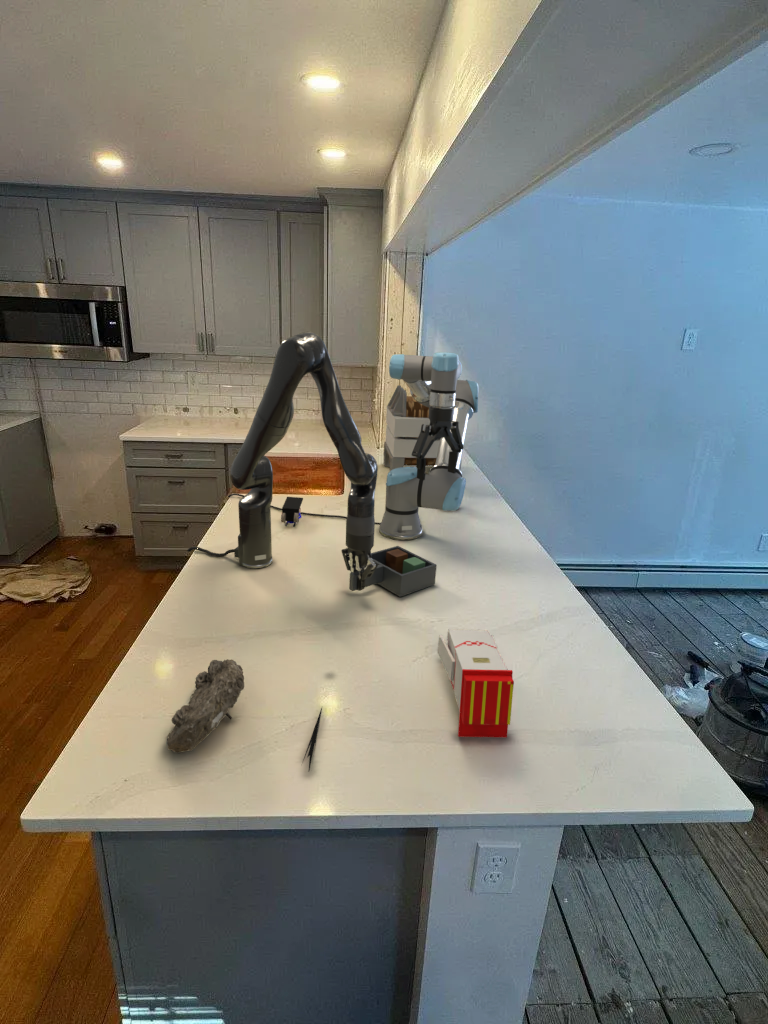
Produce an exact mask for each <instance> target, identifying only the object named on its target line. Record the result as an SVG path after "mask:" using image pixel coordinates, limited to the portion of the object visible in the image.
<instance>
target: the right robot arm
mask: <svg viewBox="0 0 768 1024" xmlns="http://www.w3.org/2000/svg"><path fill="white" fill-rule="evenodd" d="M462 371H463V365H462V362H461V361H460V360H459V355H458V353H455V352H445V351H438V352H434V353H433V355H432V356H431V355H430V356H429V355H413V354H404V353H402V354H398V353H397V354H392V356H391V357H390V359H389V364H388V373H389V377H390V378H391V379H392V380H393V379H394V380H402V381H403V382H404V383H405V385H406V386H407V388H408V389H409V392H410V396H412V397H413V398H414V399H415V400H416V401H417V402H419V403H420V404H422V405H424V406H426V407H429V416H428V418H429V419H430V424H429V425H425V424H422V426H421V432H420V434H419V437H418V439H417V442H416V444H415V447H414V449H413V452H412V456H414V457H416V458H417V464H416V466H404V467H401V468H396V469H393V470H391V471H390V470H389V472H388V473H387V475H386V482H385V504H384V505H385V507H384V508H385V509H384V513H383V515H382V519H381V522H376V521H375V525H377V526H378V533H379V534H380V535H381V536H382V537H385V538H387V539H389V540H395V541H410V540H415V539H418V538H420V537H421V536H422V535H423V525H422V524H421V518H420V515H419V508H422V509H430V510H431V509H432V510H440V511H444V512H456V511H457V510H459V509H460V507H461V505H462V502H463V499H464V496H465V490H466V486H467V480H466V478H465V477H463V472H462V470H461V471H460V470H459V469H460V463H461V464H462V462H461V458H462V457H463V449H464V447H465V440H466V434H467V427H468V422H469V420H470V419H472V418H473V416H474V414H477V413H478V412H479V384H478V382H476V381H475V380H469V379H460V377H461V375H462V373H463V372H462ZM431 435H432V436H431ZM437 439H440V443H439V448H438V453H437V458H436V464H435V466H431V468H430V469H429V472H428V473H426V468H427V466H426V459H425V458H424V457H425V456H426V454H427V452H428V451H429V449H430V447H431V446H432V444H433V443H434V441H436V440H437ZM416 452H417V453H416ZM232 496H238V497H241V498H243V497H244V496H245V495H244V494H240V493H231V494H229V495H228V496H227V498H231V497H232ZM271 508H272V509H275V510H278V511H282V507H278V506H274V505H271ZM447 510H448V511H447ZM300 515H303V516H304V515H305V516H313V517H324V518H337V519H345V520H346V519H347V516H346V515H345V516H344V515H338V514H337V515H335V514H321V513H310V512H302V511H301V514H300Z"/></svg>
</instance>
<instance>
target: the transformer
mask: <svg viewBox="0 0 768 1024" xmlns="http://www.w3.org/2000/svg"><path fill="white" fill-rule="evenodd" d="M407 394H408V393H407V390H406V389H404V388H403V387H402V385H399V384H398V385H397V386H396V388H395V390H394V392H393V394H392V395H391V398H390V400H389V402H388V404H387V405H386V413H385V414H386V415H385V423H386V428H385V438H384V442H383V466H384V467H388V468H389V472H390V471H391V470H393V469H396V468H401V467H405V466H406V467H416V464H417V458H416V457H414V456H412V452H413V449H414V447H415V444H416V442H417V439H418V437H419V434H420V432H421V426H422V424H425V425H429V424H430V419H429V418H428V416H429V407H426V406H424V405H422V404H420V403H419V402H417V401H416V400H415V399H414V398H413V397H412V395H407ZM431 436H432V435H431ZM439 443H440V439H437V440H436V441H434V443H433V444H432V446H431V447H430V449H429V451H428V452H427V454H426V456H425V457H424V458H425V459H426V467H433V466H435V464H436V458H437V453H438V448H439ZM416 453H417V452H416ZM462 461H463V460H462V457H461V463H460V469H459V470H460V471H461V472H462Z"/></svg>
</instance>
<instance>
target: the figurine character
mask: <svg viewBox="0 0 768 1024" xmlns="http://www.w3.org/2000/svg"><path fill="white" fill-rule="evenodd" d="M303 501H304V497H297V496H286V499H285V500H284V502H283V505H282V507H281V508H282V510H281V515H280V523H283V524H284V523H285V525H284V526H285V527H288V525H289V524H290V525H292V527H293V528H295V527H296V524H297V523H299V520H300V519H302V518H303V517H302V514H301V512H302V509H301V506H302V503H303Z"/></svg>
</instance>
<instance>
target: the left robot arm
mask: <svg viewBox="0 0 768 1024" xmlns="http://www.w3.org/2000/svg"><path fill="white" fill-rule="evenodd" d="M328 351H329V350H328V349H327V346H326V344H325V342H324V340H323V339H322V338H321V337H320V336H319V334H317V333H315V332H313V331H304V332H301V333H298V334H295V335H292V336H290V337H287V338H285V339H284V340H283V341H282V342H281V343H280V345H279V347H278V348H277V350H276V354H275V358H274V362H273V366H272V370H271V373H270V376H269V379H268V383H267V385H266V388H265V390H264V393H263V395H262V397H261V400H260V403H259V405H258V406H257V409H256V412H255V414H254V417H253V420H252V422H251V425H250V428H249V430H248V432H247V435H246V437H245V439H244V441H243V442H242V445H241V447H240V448H239V450H238V452H237V454H236V455H235V457H234V459H233V461H232V463H231V466H230V470H229V471H230V473H229V474H230V475H229V476H230V481H231V484H232V485H233V487H234V488H236V489H237V490H240V491H245V490H246V491H247V490H249V491H248V492H247V493H246V494H245V495H244V497H241V498H240V499H239V501H238V505H237V506H238V523H239V524H238V525H239V526H238V527H239V534H238V535H237V546H236V547H235V548H232V549H227V550H226V551H224V552H223V553H217V552H212V551H210V550H209V549H205V548H203V547H199V546H191V547H189V548H188V549H187V550H186V552H191V551H193V550H195V551H200V552H201V553H205V554H207V555H209V556H212V557H217V558H220V557H226V556H228V555H229V554H231V553H232V554H234V558H236V559H237V558H238V565H239V566H240V567H241V566H242V567H244V568H247V569H262V568H266V567H269V566H270V565H272V563H273V547H272V546H273V545H272V513H271V512H272V510H271V506H272V502H273V489H274V488H273V487H274V471H273V465H272V463H271V460H270V458H269V457H267V456H266V454H268V452H270V451H271V450H272V449H273V448H274V447H276V446H277V445H278V444H279V443H280V442H281V441H282V440H283V438H284V437H285V436H286V434H287V432H288V430H289V428H290V426H291V423H292V422H293V418H294V414H295V407H294V395H295V393H296V390H297V389H298V386H299V384H301V381H302V380H303V378H304V377H305V376H307V375H308V374H310V376H311V377H312V379H313V381H314V383H315V386H316V387H317V390H318V396H319V402H320V412H321V418H322V421H323V424H324V428H325V430H326V432H327V433H328V436H329V438H330V440H331V441H332V443H333V445H334V447H335V448H336V451H337V455H338V458H339V460H340V464H341V466H342V469H343V473H344V475H345V477H346V478H347V479H348V481H350V489H349V490H350V491H349V493H348V496H347V509H346V510H347V513H346V517H347V519H345V546H346V547H347V548H343V549H341V555H342V559H343V562H344V564H345V567H346V570H347V571H350V573H353V572H356V571H357V577H358V578H357V590H356V591H358V592H360V591H363V590H365V588H366V587H365V579H366V578H369V577H371V576H372V574H373V573H374V571H375V570H376V568H377V566H378V563H377V562H375V563H374V562H373V560H372V559H371V558H372V555H371V553H372V549H373V548H374V546H375V530H376V529H375V527H376V526H375V525H376V524H375V522H376V520H375V504H376V502H375V495H376V494H375V493H376V487H377V482H378V481H377V479H378V467H379V466H378V462H377V460H376V458H375V457H374V455H373V454H370V453H368V452H365V450H364V448H363V445H362V436H361V433H360V431H359V429H358V427H357V425H356V423H355V421H354V419H353V416H352V415H351V413H350V411H349V408H348V407H347V404H346V402H345V399H344V396H343V393H342V390H341V389H340V388H341V387H340V386H339V385H340V384H339V382H338V379H337V375H336V373H335V370H334V367H333V364H332V360H331V357H330V354H329V352H328ZM197 548H198V549H197ZM362 571H363V573H362V574H361V572H362Z"/></svg>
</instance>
